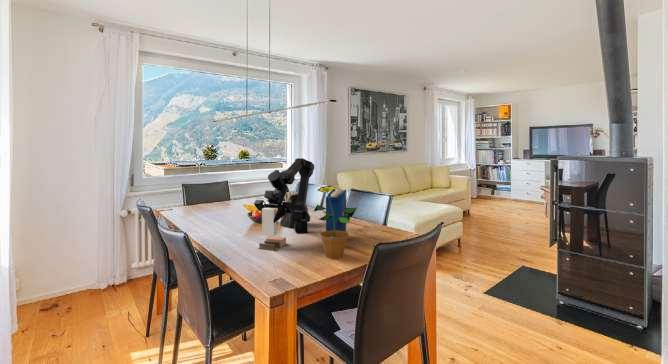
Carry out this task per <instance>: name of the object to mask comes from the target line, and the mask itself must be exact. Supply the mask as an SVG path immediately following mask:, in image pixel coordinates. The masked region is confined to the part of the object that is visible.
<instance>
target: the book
mask: <svg viewBox="0 0 668 364" xmlns="http://www.w3.org/2000/svg"><path fill="white" fill-rule="evenodd" d="M328 195H329V199H328ZM329 200H330V202H329ZM330 203H331V206H332V209H333V213H334V219H335V221H336V220H337V219H338V217H339V216H340V217H342V216H346V215H347V214H346V213H345V212H343V211H342V210H344V209H346V208H347V189H340V188H339V189H335V190H333V191H329V192H328V194H327V195H326V196H325V208H326V209H325V212H326V213H327V214H330V215H333V213H332V209H331V206H330ZM341 212H342V213H341ZM340 214H341V215H340ZM331 230H334V220H333V216H332V217H330V218H329V219H327V220H325V231H331ZM335 230H338V231H345V232H347V223H346V224H342V225H338V220H337V221H336V223H335Z"/></svg>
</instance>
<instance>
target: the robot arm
mask: <svg viewBox="0 0 668 364" xmlns="http://www.w3.org/2000/svg"><path fill="white" fill-rule="evenodd" d="M314 170H315V164H314V163H313V162H312V161H309V160H307V159H305V158H303V157H301V158H299V157H297V158H295V160H294V161H293V163H292V164H291V165H290V166H289V167H288V168H287V169H284V170H282V171H280V170H279V169H275V170H274V171H272V172H270V173H269V174H268V175H267V179H268V181H269V183H270V185H271V186H272V188H274V190H265V192H264V195H263V198H265V199H266V201H267V202H268V203H267V202H265V201H264V199H255V201H254V203H253V205H254V207H255V208H256V209H257V211H259V212H260V222H261V223H262V209H263V208H273V209H276V215H275V218H274V221H273V222H274V223H275V222H278V221H279V220H281V217H283V216H284V215H286V214H288V213H292V220H293V221H295V224H294V229H293V230H294V232H295V234H308V233H309V230H308V226H309V225H308V223H309V222H311V215H310V213H309V210H308V209H309V208H308V206H307V196H308V190H309V182H310V178H311V177H312V176H313V174H314ZM297 174H299V176H300V178H299V184H298V185H299V186H298V191H297V192H298V199H297V203H296V204H295V205H292V203H291V202H286V195H287V193H290V189H289V186H288V185H292V184H293V183H294V182H295V180H296V178H295V176H296V175H297Z"/></svg>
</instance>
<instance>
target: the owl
mask: <svg viewBox="0 0 668 364" xmlns="http://www.w3.org/2000/svg"><path fill="white" fill-rule="evenodd" d="M298 192H299V191H296V192H292V193H291V194H289V196H288V197H287V199H286V200H285V202H291V203H292V205H295V204H296V203H297V199H298ZM294 224H295V221H293V220H292V213H288V214H286V215H284V216H283V217H281V218H280V221H279V226H280V227H283V228H287V229H291V230H294Z"/></svg>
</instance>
